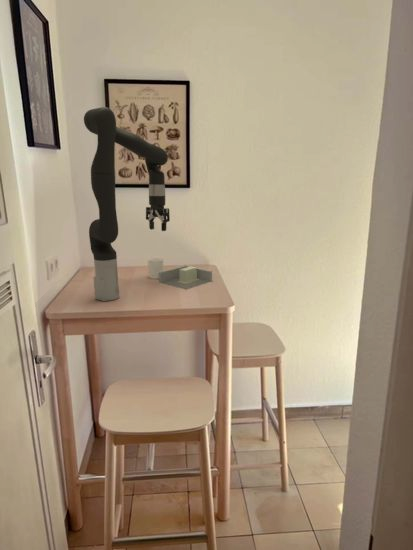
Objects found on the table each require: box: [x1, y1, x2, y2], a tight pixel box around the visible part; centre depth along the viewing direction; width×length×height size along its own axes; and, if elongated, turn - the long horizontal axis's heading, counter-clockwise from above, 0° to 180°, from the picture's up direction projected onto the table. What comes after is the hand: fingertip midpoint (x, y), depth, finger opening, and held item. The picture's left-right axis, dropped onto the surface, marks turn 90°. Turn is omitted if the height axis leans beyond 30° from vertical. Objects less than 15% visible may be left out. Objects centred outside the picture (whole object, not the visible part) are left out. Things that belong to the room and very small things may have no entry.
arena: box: [158, 265, 213, 291], centre depth 181 cm, size 18×18×6 cm
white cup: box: [147, 257, 164, 280], centre depth 190 cm, size 8×8×10 cm
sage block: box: [179, 266, 198, 283], centre depth 183 cm, size 4×8×6 cm, turn 138°
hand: (157, 230), depth 178 cm, fingers open, 8 cm apart
